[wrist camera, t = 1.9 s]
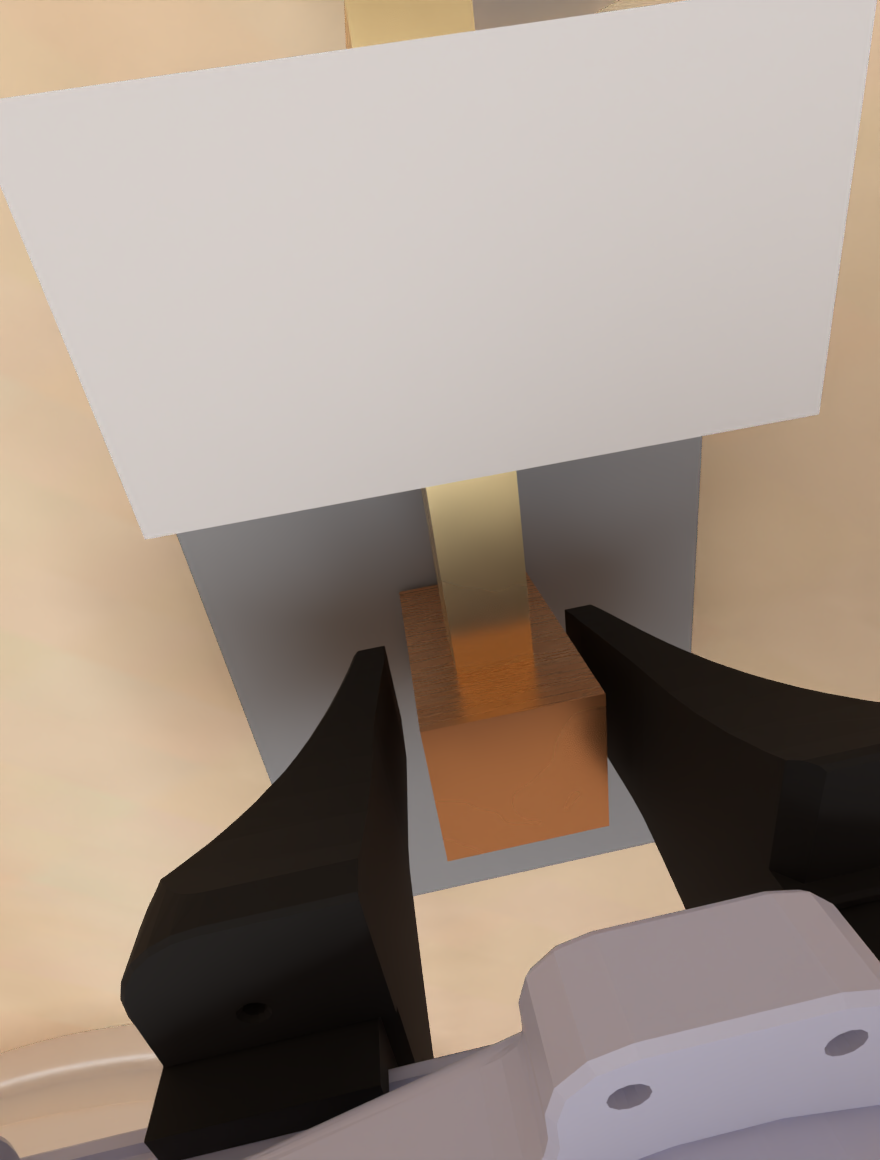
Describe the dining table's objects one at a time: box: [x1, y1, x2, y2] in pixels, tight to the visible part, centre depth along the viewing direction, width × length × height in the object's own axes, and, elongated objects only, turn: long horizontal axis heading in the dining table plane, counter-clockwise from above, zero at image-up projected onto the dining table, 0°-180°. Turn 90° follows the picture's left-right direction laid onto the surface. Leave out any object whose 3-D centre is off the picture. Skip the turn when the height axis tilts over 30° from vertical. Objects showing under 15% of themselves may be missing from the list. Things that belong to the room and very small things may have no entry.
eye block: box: [0, 0, 877, 896], centre depth 12 cm, size 12×20×7 cm, turn 9°
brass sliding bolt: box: [344, 0, 609, 861], centre depth 10 cm, size 3×12×5 cm, turn 9°
